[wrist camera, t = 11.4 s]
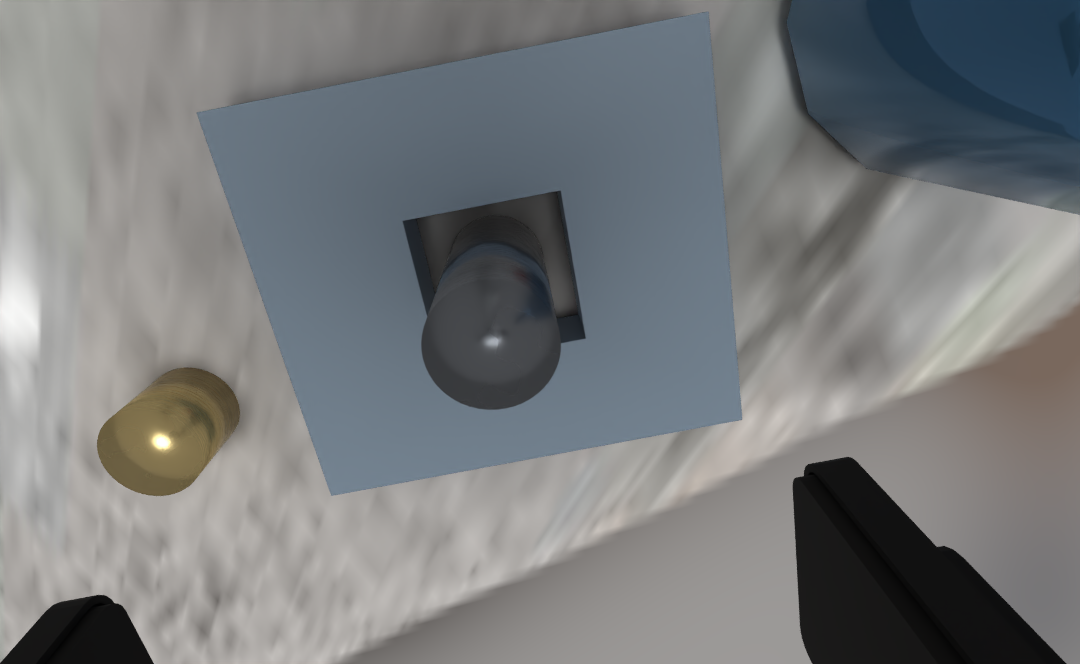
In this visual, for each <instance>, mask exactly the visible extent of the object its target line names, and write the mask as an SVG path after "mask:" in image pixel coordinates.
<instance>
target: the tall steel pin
mask: <svg viewBox="0 0 1080 664" xmlns="http://www.w3.org/2000/svg"><path fill="white" fill-rule="evenodd" d="M421 351H422V357H423V361H424V364H425V367H426V369H427V371H428V373H429V375H430V377H431V378H432V380H433V381H434V383H435V384H436V385H437V386H438V387H439V388H440V389H441V390H442V391H443V392H444V393H445V394H446V395H448V396H449V397H451V398H452V399H454V400H455V401H457V402H459V403H461V404H464V405H467V406H470V407H473V408H478V409H485V410H498V409H506V408H510V407H514V406H516V405H519V404H522V403H524V402H526V401H527V400H529V399H531V398H532V397H534V396H535V395H537V394H538V393H539V392H540V391H541V390H542V389H543V388H544V387H545V386H546V385H547V384H548V382H549V381H550V379H551V378H552V376H553V375H554V373H555V370H556V368H557V365H558V362H559V359H560V353H561V338H560V332H559V327H558V323H557V318H556V313H555V309H554V304H553V300H552V295H551V291H550V286H549V281H548V277H547V272H546V268H545V263H544V258H543V254H542V250H541V246H540V244H539V242H538V240H537V238H536V236H535V235H534V234H533V232H532V231H531V230H530V229H529V228H528V227H527V226H525V225H524V224H523V223H521V222H519V221H517V220H515V219H513V218H510V217H506V216H486V217H482V218H479V219H477V220H475V221H473V222H471V223H470V224H468V225H467V226H466V227H465V228H464V229H463V230H462V231H461V232H460V233H459V234H458V236H457V237H456V239H455V241H454V243H453V246H452V249H451V251H450V254H449V257H448V260H447V263H446V265H445V268H444V271H443V274H442V277H441V280H440V282H439V285H438V288H437V291H436V294H435V296H434V299H433V302H432V305H431V308H430V311H429V313H428V316H427V319H426V322H425V325H424V328H423V332H422V339H421Z"/></svg>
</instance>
